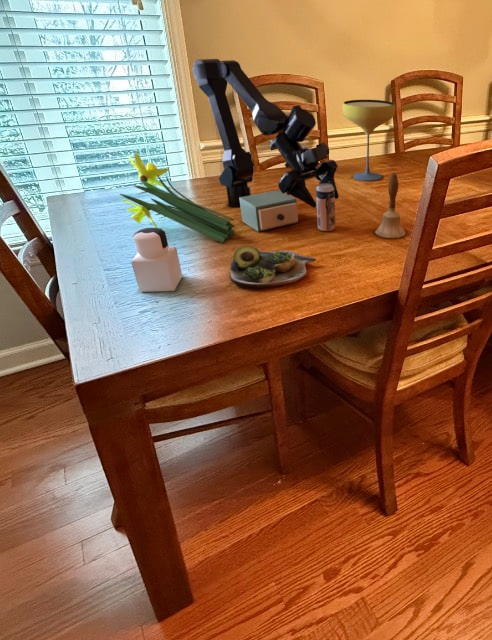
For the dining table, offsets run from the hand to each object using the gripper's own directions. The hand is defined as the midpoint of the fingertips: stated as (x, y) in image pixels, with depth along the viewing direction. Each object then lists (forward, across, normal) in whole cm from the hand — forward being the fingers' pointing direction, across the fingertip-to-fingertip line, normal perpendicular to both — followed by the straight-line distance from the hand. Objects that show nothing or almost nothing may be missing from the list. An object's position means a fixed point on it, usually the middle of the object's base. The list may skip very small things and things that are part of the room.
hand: (326, 202), depth 124 cm
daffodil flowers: (-16, -24, +27) cm, 39 cm away
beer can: (+5, 0, +6) cm, 8 cm away
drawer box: (-6, -6, +17) cm, 19 cm away
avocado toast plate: (+10, -29, +1) cm, 31 cm away
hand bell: (+16, +8, -5) cm, 19 cm away
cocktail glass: (-10, +50, +21) cm, 55 cm away
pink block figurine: (0, -47, +11) cm, 48 cm away
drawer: (-5, -6, +15) cm, 17 cm away
